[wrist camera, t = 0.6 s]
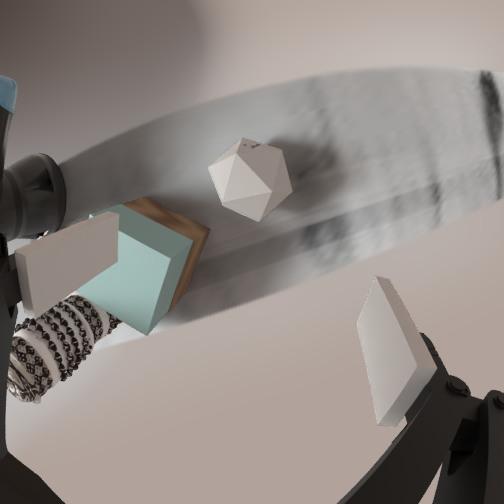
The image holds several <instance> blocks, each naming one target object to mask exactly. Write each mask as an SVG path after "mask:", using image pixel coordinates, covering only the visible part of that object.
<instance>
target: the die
mask: <svg viewBox="0 0 504 504" xmlns="http://www.w3.org/2000/svg"><path fill="white" fill-rule="evenodd" d="M208 169H209V172H210V175H211V177H212V180H213V182H214V185H215V188H216V190H217V193H218V195H219V198H220V201H221V203H222V206H223V207H226V208H228V209H230V210H232V211H235V212H237V213H239V214H241V215H243V216H246V217H248V218H250V219H252V220H254V221H257V222H260V221H261V220H262V219H264V218H265V217H266V216H267V215H268V214H269V213H270V212H271V211H272V210H273V209H274V208H275V207H277V206H278V205H279V204H280V203H281V202H282V201H283V200H284V199H285V198H286V197H287V196H289V195H290V194H291V193H292V192H293V191H292V187H291V183H290V179H289V175H288V171H287V167H286V163H285V159H284V156H283V152H282V150H281V149H278V148H275V147H272V146H268V145H265V144H262V143H258V142H255V141H251V140H248V139H244V138H242V139H240V140H239V141H238V142H237V143H236V144H234V145H233V146H232V147H231V148H230V149H228V150H227V151H226V152H225V153H224V154H223V155H222V156H220V157H219V158H218V159H217V160H216V161H215V162H214V163H212V164H211V165H210V166H209V167H208Z"/></svg>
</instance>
